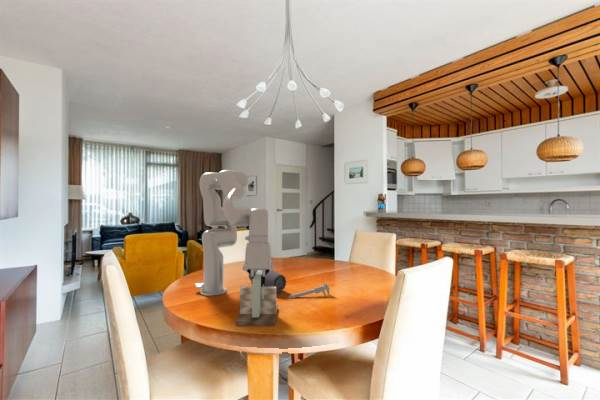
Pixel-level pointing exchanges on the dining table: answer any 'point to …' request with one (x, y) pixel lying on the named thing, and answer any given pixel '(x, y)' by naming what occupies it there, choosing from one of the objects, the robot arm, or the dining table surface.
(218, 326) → the dining table surface
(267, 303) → the slotted stand
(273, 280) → the bluetooth speaker
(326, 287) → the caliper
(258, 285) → the slotted plate
